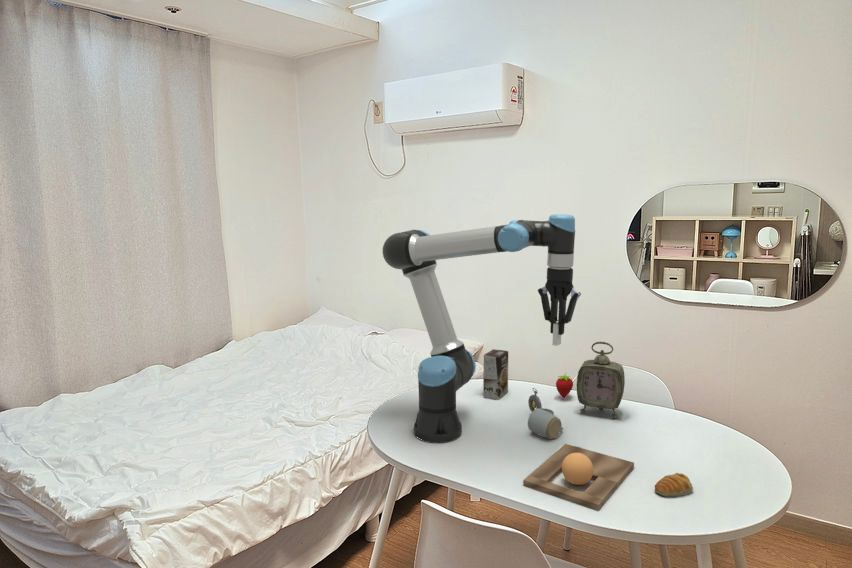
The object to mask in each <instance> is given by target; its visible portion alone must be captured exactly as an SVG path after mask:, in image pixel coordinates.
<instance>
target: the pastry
mask: <svg viewBox="0 0 852 568" xmlns="http://www.w3.org/2000/svg"><path fill="white" fill-rule="evenodd" d="M693 491H694V487H693V483H692V482H691V480H690V478H689V477H688V476H686V475H685V474H684V473H679V472H676V473H673V474H667V475H664V476H663V477H662V478H660V479H659V480H658V481H657V482H656V483H655V484H654V492H655V493H657V494H659V495H660V496H663V497H666V498H667V497H668V496H669V497H676V496H678V497H680V495H681V496H684V495H683V494H686V493H689V492H691V493H692V492H693ZM689 494H690V493H689ZM686 495H687V494H686ZM669 497H668V498H669Z"/></svg>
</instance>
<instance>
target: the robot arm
mask: <svg viewBox="0 0 852 568" xmlns="http://www.w3.org/2000/svg"><path fill="white" fill-rule="evenodd" d="M575 219H576V218H575V217H574V215H572V214H550V215H549V218H548V220H543V221H541V220H540V221H539V220H527V219H526V220H525V219H515V220H511V221H510V222H509V223H508V224H503V225H502V224H501V225H497V226H496V225H495V226H489V227H482V228H481V227H480V228H473V229H465V230H459V231H451V232H445V233H437V234H430V233H429V232H428V231H425V230H423V229H422V230H421V229H410V230H407V231H406V230H405V231H402V232H396V233H393V234H392V235H390V236H388V237H387V239H386V240H385V241H384V243H383V245H382V249H381V250H382V257H383V259H384V261H385V262H386V263H387V265H388V266H390V267H391V268H393V269H396V270H401V271H402V274H403V277H406V278H407V279H409V281H410V284H411V287H412V290H413V293H414V295H415V299H416V301H417V304H418V307H419V310H420V313H421V314H420V315H421V316H422V319H423V322H424V326H425V329H426V330H427V331H426V332H427V334H428V338H429V340H430V343H431V346H432V349H431V351H430V353H429V354H430V356H429V357H426V358H424V359H422V361H420V363H419V365H418V369H417V371H418V372H417V379H418V380H417V381H418V382H417V383H418V384H417V385H418V412H417V415H416V416H415V417H416V418H415V420H414V424H413V435H414V434H415V435H414V436H415V437H416V438H417V437H418V438H420V439H422V440H421V441H423V440H424V442H426V441H428V442H427V443H433V442H437V444H440V443H442V444H443V443H449V442H452V441H455V440H458V439H459V438H460V437H461V436H462V433H463V431H462V430H463V428H462V427H463V426H462V423H461V420H460V416H459V414H458V412H457V411H458V410H457V392H458V391H459V390H460V388H462V387H464V385H466V384H467V383H469V382H470V381H471V379H472V378H473V376H474V374H475V372H476V360H475V357H474V355H473V353H471V351H469V350H467V349H466V346H465V344H464V341H462V340H459V339H458V337H457V335H456V334H457V333H456V331H455V327H454V325H453V322H452V320H451V316H450V313H449V311H448V310H449V309H448V307H447V305H446V302H445V298H444V296H443V292H442V289H441V287H440V284H439V281H438V277H437V275H436V272H435V270H436V268H437V266H438V264H437V260H446V259H455V258H464V257H470V256H471V257H472V256H479V255H480V256H481V255H488V254H496V253H505V252H506V253H507V252H510V253H515V252H520V251H521V250H524V249H526V248H528V247H547V260H546V265H547V266H548V267H547V268H546V282H545V285H544V286H542V287H540V288H538V289H537V292H538V294H539V296H540V300H541V301H540V302H541V306H542V312H543V316H544V320H545V321H548V322H549V323H550V328H549V329H550V330H549V331H550V333H551V334H552V346H559V345H561V344H562V335H564V333H565V325H566V324H569V323H570V322H572V318H573V315H574V311H575V308H576V304H577V302H578V299H579V298H580V297H581V295H582V294H581V292H580V291H577V290H576V289H575V288H574V287H575V286H574V285H573V281H574V280H573V279H574V278H573V277H574V269H573V266H574V258H575V257H574V256H575V255H574V254H575V239H576V220H575ZM549 295H550V298H549ZM569 296H570V297H571V298H570V299H569V302H568V306H567V300H568V297H569ZM418 438H417V439H418ZM420 439H419V440H420Z"/></svg>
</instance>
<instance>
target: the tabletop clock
mask: <svg viewBox="0 0 852 568" xmlns="http://www.w3.org/2000/svg"><path fill="white" fill-rule="evenodd" d="M601 344H602V345H607V346H609V347H610V349H611V351H606V352H605V350H603V349H601V350H600V351H597V350H595V349H594V348H593V347H594V346H595V345H601ZM590 348H591V350H592V351H593V353H595V354H597V355H596V356H595V357H594V359H587V360H584V361H583V363H582V365H581V366H580V368H579V369H578V373H577V377H576V395H577V396H576V397H577V400H578V402H579V404H581V405H583V408H581V409H579V413H580V414H582V415H583V414H585V412H586V410H585V409H586V408H587V407H589V408H595V409H597V410H598V412H603V411H604V410H612V413H613V414H612V417H613V419H618V417H619V415H618V414H617V413H616V411H615V409H618V408H619V406H620V405H621V402H622V398H623V396H624V391H625V386H626V385H625V384H626V383H625V382H626V381H625V370H624V367H623V365H622V364H620V363H618V362H615V361H611V360H610V358H609V357H608V356H607V355H610V354H612V353H613V352H614V347H613V345H611V343H608V342H605V341H596V342H594V343H592V345H591V347H590Z"/></svg>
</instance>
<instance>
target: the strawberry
mask: <svg viewBox="0 0 852 568" xmlns="http://www.w3.org/2000/svg"><path fill="white" fill-rule="evenodd" d="M555 387H556V390H557V393H558V394H559V395H560V397H561V398H562V399H566V397H568V395H569V394H570V392H571V391H572V389H573V387H574V381H573V380H572V378H571V376H569V375H568V376H567V372H565V374H563V375H560V376H559V375H558V376H557V380H556V382H555Z"/></svg>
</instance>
